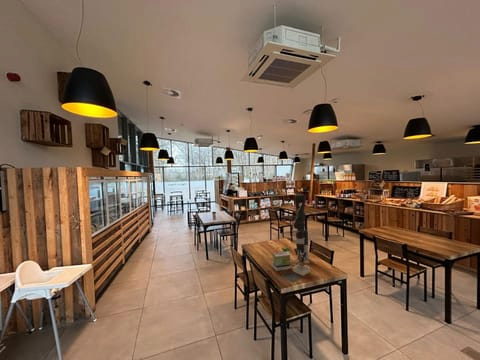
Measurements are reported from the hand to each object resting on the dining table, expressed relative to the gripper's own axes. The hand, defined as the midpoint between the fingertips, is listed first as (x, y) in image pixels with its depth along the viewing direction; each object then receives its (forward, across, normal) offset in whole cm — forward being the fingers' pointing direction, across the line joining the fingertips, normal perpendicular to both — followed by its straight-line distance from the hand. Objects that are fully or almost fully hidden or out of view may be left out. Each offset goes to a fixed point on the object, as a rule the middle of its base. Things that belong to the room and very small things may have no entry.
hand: (301, 260), depth 194 cm
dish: (+12, 0, 0) cm, 12 cm away
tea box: (+12, -19, -7) cm, 24 cm away
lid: (+2, 0, 0) cm, 2 cm away
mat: (+12, 0, -15) cm, 19 cm away
